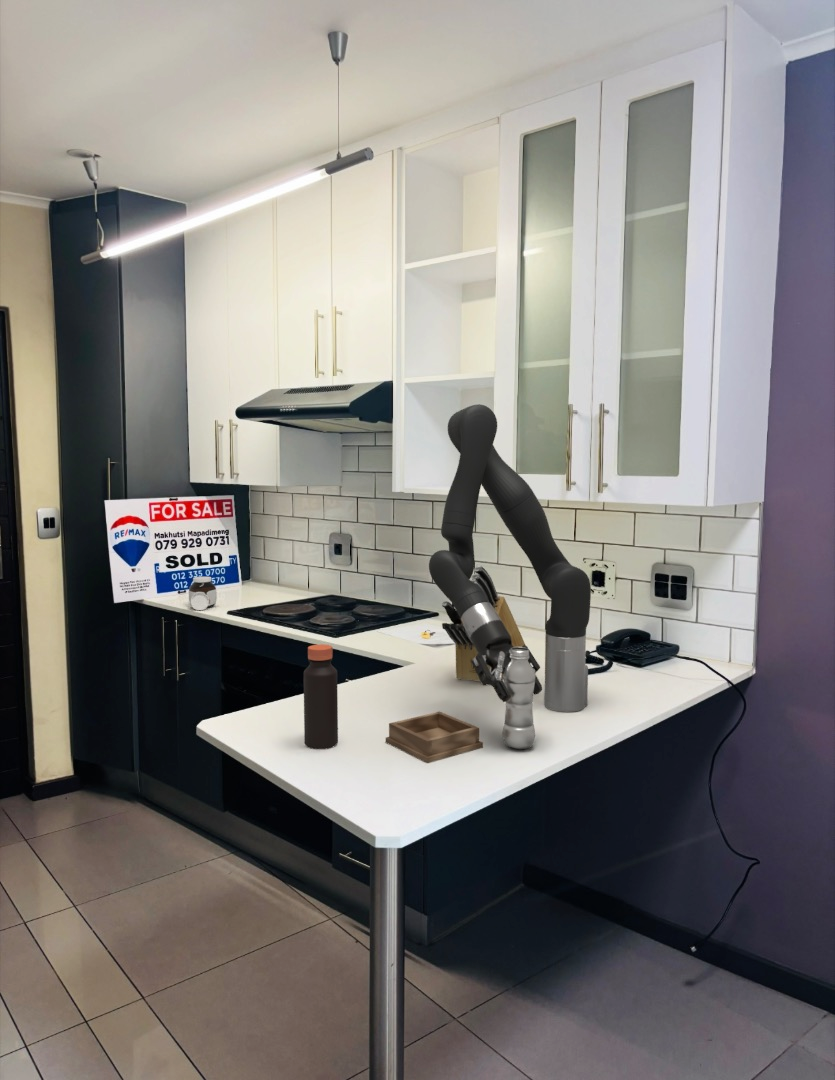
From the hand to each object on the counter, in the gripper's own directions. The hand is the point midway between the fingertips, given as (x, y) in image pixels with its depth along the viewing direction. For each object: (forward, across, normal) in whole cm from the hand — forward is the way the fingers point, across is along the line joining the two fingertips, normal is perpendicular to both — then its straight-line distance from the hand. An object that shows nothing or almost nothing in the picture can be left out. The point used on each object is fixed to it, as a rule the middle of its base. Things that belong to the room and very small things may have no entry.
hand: (523, 696), depth 159 cm
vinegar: (-11, -31, +26) cm, 42 cm away
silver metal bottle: (+7, 0, +9) cm, 11 cm away
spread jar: (-122, +7, +138) cm, 185 cm away
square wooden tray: (-1, -13, +16) cm, 21 cm away
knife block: (-25, +31, +40) cm, 56 cm away
